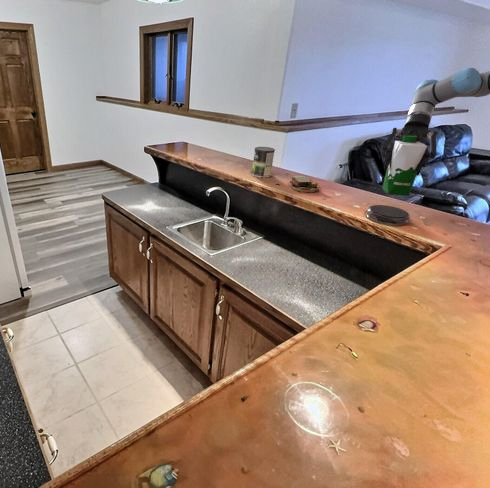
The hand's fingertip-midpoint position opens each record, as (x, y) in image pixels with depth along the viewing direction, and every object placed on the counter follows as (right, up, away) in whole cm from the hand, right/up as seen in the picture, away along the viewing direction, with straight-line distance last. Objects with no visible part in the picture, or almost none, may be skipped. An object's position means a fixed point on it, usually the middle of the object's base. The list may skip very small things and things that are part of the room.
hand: (401, 170), depth 123 cm
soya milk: (+2, -7, +7) cm, 10 cm away
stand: (+1, -16, +11) cm, 20 cm away
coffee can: (-32, +11, +65) cm, 73 cm away
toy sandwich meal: (-18, +1, +45) cm, 48 cm away
